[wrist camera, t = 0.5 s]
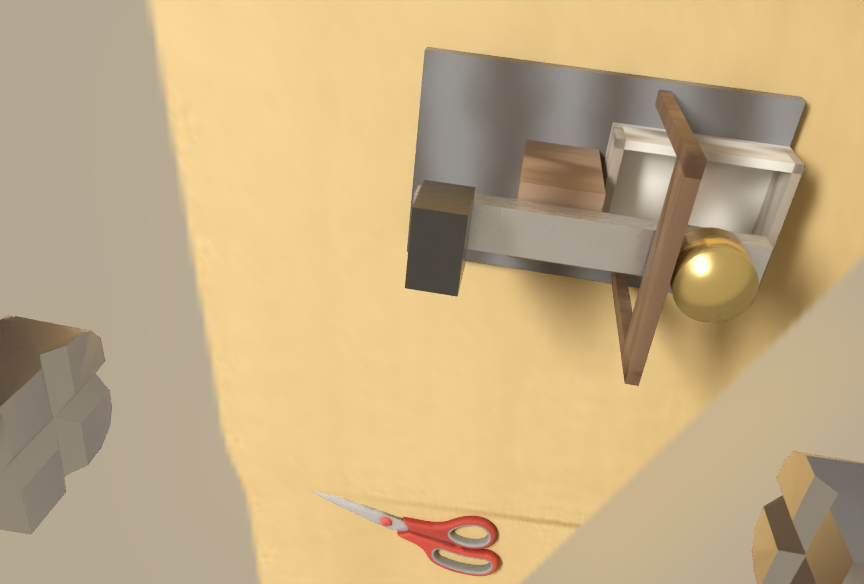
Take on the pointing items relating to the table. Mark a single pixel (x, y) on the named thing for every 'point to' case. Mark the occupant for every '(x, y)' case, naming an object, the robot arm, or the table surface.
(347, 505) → the scissors
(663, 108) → the shaft stand
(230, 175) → the table surface
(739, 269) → the brass spacer
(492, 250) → the steel shaft
